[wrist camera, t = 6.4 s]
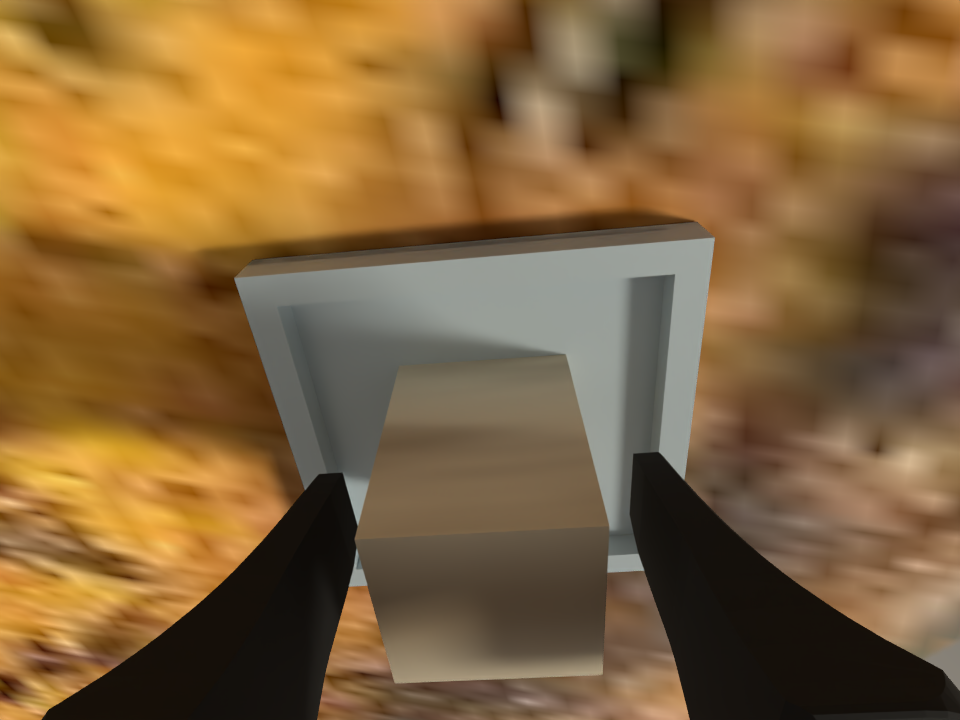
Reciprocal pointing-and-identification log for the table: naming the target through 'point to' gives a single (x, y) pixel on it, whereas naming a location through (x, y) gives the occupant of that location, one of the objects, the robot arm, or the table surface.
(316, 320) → the tray
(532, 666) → the beech block
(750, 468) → the table surface
